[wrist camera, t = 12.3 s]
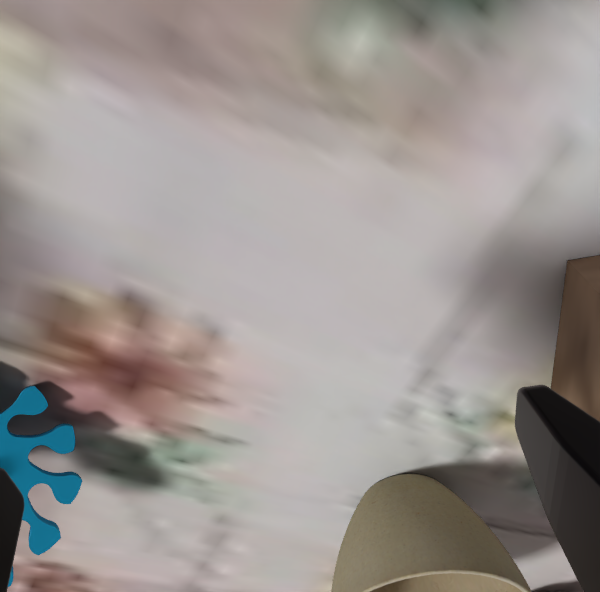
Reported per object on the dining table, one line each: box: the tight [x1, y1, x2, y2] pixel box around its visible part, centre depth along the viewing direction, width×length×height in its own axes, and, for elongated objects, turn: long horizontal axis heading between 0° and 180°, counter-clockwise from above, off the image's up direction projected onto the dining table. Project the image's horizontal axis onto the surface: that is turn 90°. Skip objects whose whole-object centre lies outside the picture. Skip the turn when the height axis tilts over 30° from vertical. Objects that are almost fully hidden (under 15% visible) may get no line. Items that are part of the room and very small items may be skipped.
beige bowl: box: [331, 474, 531, 592], centre depth 28 cm, size 10×10×7 cm
